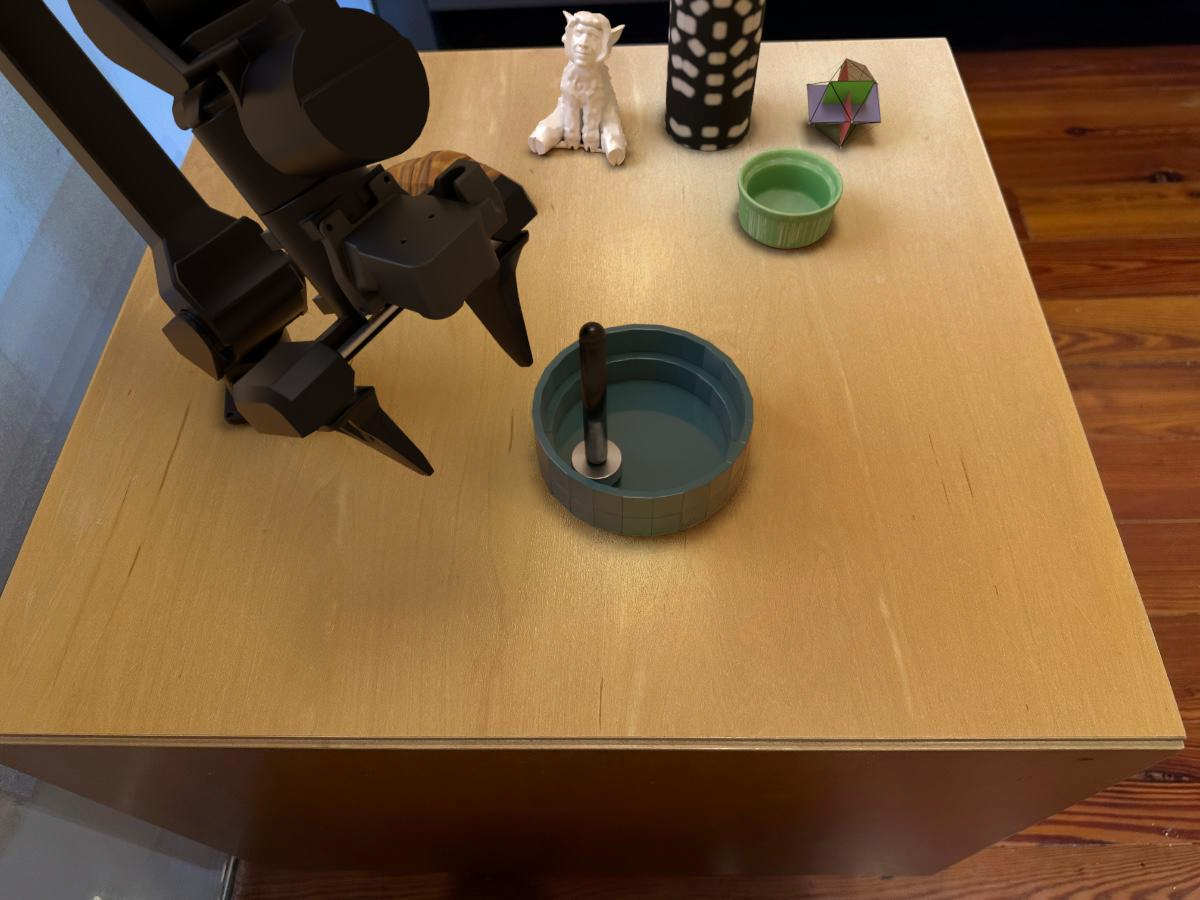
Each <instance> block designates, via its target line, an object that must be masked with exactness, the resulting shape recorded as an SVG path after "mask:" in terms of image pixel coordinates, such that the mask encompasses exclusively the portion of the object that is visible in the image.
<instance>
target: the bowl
mask: <svg viewBox="0 0 1200 900" xmlns="http://www.w3.org/2000/svg"><path fill="white" fill-rule="evenodd" d="M604 329H605V332H606V369H607V432H608V440H610V441H612V442H614V443H615V444H616V445H617V446H618V447H619V449H620V451H621V454H622V473H621V475H620V477H619V479H618V480H617V481H616V482H615V483H614V484H613V485H611V486H607V485H604V484H600V483H597V482H595V481H593V480H591V479H589V478H588V477H586V476H584V475H582V474H580V473H579V472H577V471H575V470H573V469H572V468H571V454H572V452H573V450H574V448H575V447H576V446H577V445H578V444H579V443H580V442H581V441H583V440H584V427H583V408H582V388H581V369H580V350H579V338H578V339H577V340H575V341H574V342H572V343H571V344H569V345H568V346H565V348H563V349H561V350H560V351H559V352H558V353H557V354H556V356H554V357H553V359H552V360H551V361H550V362H549V363H548V365H546V366H545V368H544V369H543V371H542V373H541V375H540V378H539V379H538V382H537V384H536V386H535V388H534V391H533V398H532V405H531V406H532V407H531V419H532V428H533V435H534V442H535V451H536V458H537V462H538V467H539V472H540V476H541V477H542V479H543V481H544V483H545V485H546V487H547V489H548V490H549V492H550V494H551V496H552V497H553V498H554V499H555V500H556V501H557V502H558V503H559V504H560V505H561V506H562V507H563V508H564V509H565V510H566V511H567V512H568V513H569V514H571V516H574V517H576V518H577V519H579V520H581V521H583V522H584V523H586V524H588V525H590V526H591V527H594V528H595V529H598V530H602V531H606V532H609V533H613V534H617V535H620V536H629V537H649V538H650V537H657V536H663V535H669V534H674V533H679V532H682V531H684V530H686V529H689V528H690V527H691V528H692V527H693V526H695V525H698V524H700V523H702V522H705V521H706V520H708V519H709V518H710V517H711V516H712V515H714V514H715V513H716V512H717V511H719V510H720V509H722V507H723V506H725V505H726V503H727V502H728V501H729V499H730V498H731V496H732V495H733V493H734V492H735V490H736V489H737V487H738V486H739V485H740V483H741V479H742V476H743V473H744V469H745V466H746V463H747V457H748V453H749V448H750V443H751V438H752V433H753V428H754V423H755V422H754V421H755V415H754V399H753V398H754V397H753V395H752V393H751V389H750V387H749V384H748V382H747V379H746V377H745V375H744V373H743V372H742V371H741V370H740V368H739V367H738V366H737V364H736V363H735V361H734V360H733V359H732V358H731V357H730V356H729V355H727V354H726V353H725V351H722V349H720V348H719V347H717V346H716V345H715V344H713V343H712V342H711V341H709V340H707V339H705V338H703V337H701V336H699V335H696V334H695V333H692V332H690V331H688V330H685V329H680V328H676V327H672V326H667V325H663V324H654V323H652V324H651V323H628V324H621V325H616V326H609V327H604Z"/></svg>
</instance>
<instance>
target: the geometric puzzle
mask: <svg viewBox="0 0 1200 900" xmlns="http://www.w3.org/2000/svg"><path fill="white" fill-rule="evenodd" d="M840 63H842V64H841V65H840V66H839V68H838V69H837V70H836V72H835V73H834V75H832V77H831V78H830V79H829V80H827V81H820V82H815V83H814V82H812V83H806V93H807V95H806V96H807V110H808V124H809V125H811V126H812V127H815V129H816V130H818V131H819V132H820V133H822V134H823V135H824V136H825V137H827V138H828V139H830V140H831V141H832V142H833V143H834V144H835V145H837V146H838V147H839V149H842V147H844V146H846V145H847V144H849V143H850V141H848V142H847V143H846V141H847V140H848V138H849V137H850V135H851V134H852V133H853V131H854V129H855V128H856V126H858V124H859V125H869V124H876V125H874V126H873V128H875V127H876V126H878V125H879V124H882V123H883V121H882V117H881V116H882V115H881V106H880V95H879V82H877V79H876V78H874V76H873V74H872V73H871V71H870V70H869V68H868V67H867V65H865V64H863V63H860V62H858V61H855V60H852V59H850V58H848V57H845V59H844V60H842V61H840V62H839V63H838V64H836V65H834V66H833V67H832V68H830V69H828V70H827V71H825V72H824V73H822V74H821V76H822V75H824V74H825V73H827V72H828V71H829V70H831V69H832V70H833V68H835V67H836V66H837V65H839V64H840ZM838 72H839V73H838ZM837 73H838V77H837V80H833V79H834V77H835V76H836V75H837ZM826 83H827V84H826ZM852 125H854V126H853V127H852V129H851V126H852ZM818 126H839V127H838V128H839V141H840V142H839V143H840V145H839V143H838V142H836V141H835V140H833V139H832V138H831V137H830V136H828V134H826V132H824V131H823V130H822V129H821V128H819V127H818ZM850 129H851V131H850ZM869 130H870V131H871V128H869V129H868V130H866V131H865V132H863V133H862V134H860V135H858V136H856V137H855V138H853V139H852V141H854V140H855V139H857V138H858V137H860V136H862V135H863V134H865V133H866V132H868V131H869ZM849 131H850V132H849ZM848 133H849V134H848ZM845 143H846V144H845Z"/></svg>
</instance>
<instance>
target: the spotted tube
mask: <svg viewBox="0 0 1200 900" xmlns="http://www.w3.org/2000/svg"><path fill="white" fill-rule="evenodd" d="M766 6H767V0H669V21H668V41H667V61H666V62H667V63H666V82H665V83H666V84H665V85H666V86H665V103H664V105H665V106H664V129H665V132H666V133H667V135H668V136H669V138H671V139H672V140H673V141H674V142H676V143H677V144H680V145H681V146H683V147H686V148H689V149H691V150H697V151H707V152H709V151H711V152H712V151H721V150H725V149H728V148H731V147H733V146H735V145H736V146H737V145H738V144H739V143H741V142H742V141H743V140H745V138H746V137H747V135H748V133H749V131H750V125H751V117H752V109H753V103H754V96H755V88H756V81H757V73H758V65H759V59H760V50H761V44H762V38H763V37H762V35H763V30H764V22H765V13H766Z"/></svg>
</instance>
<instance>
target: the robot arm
mask: <svg viewBox="0 0 1200 900" xmlns="http://www.w3.org/2000/svg"><path fill="white" fill-rule="evenodd" d="M66 1H67V4H68V6H69V8H70V11H71V13H72V14H73V17H74V18H75V20H76V22H77V23H78V25H79V26H80V28H81V29H82V32H83V33H84V34H85V35H86V36H87V38H88V39H89V40H90V42H91V43H92V44H93V45H94V47H95V48H96V49H97V50H98V51H100V53H101V54H102V55H103V56H104V57H105V58H107V59H108V60H109V61H111V62H112V63H114V64H115V65H117V66H119V67H120V68H122V69H124V70H126V71H128V72H129V73H131V74H132V75H134V76H136V77H138V78H140V79H141V80H143V81H145V82H146V83H148V84H150V85H152V86H154V87H156V88H157V89H159V90H161V91H163V92H164V93H166V94H167V95H170V96H171V97H173V100H172V105H171V113H172V116H173V120H174V123H175V125H176V126H177V127H178V128H179V130H181V131H183V132H185V131H188V130H190V132H191V133H192V134H193V136H194V137H195V138H196V139H197V141H198V142H199V143H200V145H201V146H202V148H204V149H205V151H206V152H207V153H208V155H209V156H210V157H211V158H212V160H213V161H214V162H215V164H216V165H217V166H218V167H219V169H220V170H221V171H222V173H223V174H224V175H225V176H226V177H227V179H228V180H229V181H230V183H231V184H232V185H233V187H234V188H235V189H236V190H237V191H238V193H239V194H240V195H241V197H242V198H243V199H244V200H245V202H246V203H247V204H248V205H249V207H250V208H251V210H253V212H254V213H255V214H256V215H257V217H258V219H259V220H260V221H261V222H262V223H263V225H264V226H265V228H266V229H265V230H264V229H263V227H262V226H261V224H260V223H259V222H257V221H256V220H255V219H252V218H251V217H249V216H247V215H242V216H240V217H239V218H238V217H235V216H233V215H231V214H228V213H226V212H224V211H221V210H219V209H216V208H214V207H212V206H210V205H209V203H207V201H206V200H205V199H204V198H203V196H202V195H201V194H200V193H199V192H198V190H197V189H196V187H194V186H193V184H192V183H191V182H190V181H189V179H188V178H187V177H186V176H185V174H184V173H183V172H182V171H181V170H180V168H179V167H178V166H177V165H176V163H175V162H174V160H173V159H172V158H171V157H170V156H169V154H168V153H167V152H166V151H165V149H164V148H162V146H161V145H160V143H159V142H158V141H157V140H156V138H155V137H154V136H153V135H152V133H151V132H150V131H149V130H148V129H147V127H146V126H145V125H144V124H143V122H142V121H141V120H140V118H139V117H138V116H137V114H135V112H134V111H133V110H132V109H131V107H130V106H129V105H128V104H127V103H126V101H125V100H124V99H123V97H122V96H121V95H120V94H119V93H118V91H117V90H116V89H115V88H114V87H113V85H112V84H111V83H110V82H109V80H108V79H107V78H106V77H105V75H104V74H103V73H102V71H100V69H99V68H98V67H97V66H96V64H95V63H94V62H93V60H92V59H91V58H90V57H89V55H88V54H87V53H86V52H85V51H84V49H83V48H82V47H81V46H80V45H79V43H78V42H77V41H76V40H75V38H74V37H73V36H72V34H71V33H70V32H69V31H68V30H67V28H66V27H65V26H64V25H63V23H62V22H61V21H60V20H59V19H58V17H57V16H56V15H55V14H54V13H53V11H52V10H51V9H50V7H49V6H48V5H47V3H46V2H45V1H44V0H0V73H1V74H2V76H4V78H5V79H6V80H7V81H8V83H9V84H10V85H11V86H12V87H13V88H14V90H16V92H17V93H18V95H20V96H21V98H22V99H23V100H24V102H26V103H27V105H28V106H29V107H30V109H31V110H33V112H34V113H35V114H36V115H37V116H38V118H39V119H40V120H41V121H42V122H43V124H44V125H45V126H46V127H47V128H48V129H49V131H50V132H51V133H52V134H53V135H54V137H56V138H57V140H58V141H59V143H61V144H62V145H63V146H62V147H64V148H65V149H66V150H67V152H68V153H69V154H70V155H71V157H72V158H73V159H74V160H75V161H76V162H77V163H78V165H79V166H80V167H81V168H82V170H84V171H85V173H86V174H87V175H88V176H89V177H90V178H91V180H92V181H93V182H94V183H95V184H96V186H97V187H98V188H99V189H100V190H101V192H102V193H103V194H104V195H105V196H106V197H107V199H108V200H109V201H110V202H111V203H112V205H114V207H115V208H116V209H117V210H118V211H119V212H120V213H121V215H122V216H123V217H124V218H125V219H126V221H127V222H128V223H129V224H130V225H131V226H132V228H133V229H134V230H135V231H136V233H138V235H139V236H140V237H141V238H142V240H144V242H145V243H146V244H147V246H148V247H149V248H150V250H151V255H152V259H153V266H154V272H155V278H156V283H157V287H158V289H157V290H158V295H159V296H160V299H162V301H163V303H165V305H166V306H167V307H168V308H169V309H170V310H171V312H172V313H173V315H175V316H173V317H172V318H171V319H170V320H169V321H168V322H167V324H165V325H164V326H163V327H162V328H161V331H162V333H163V334H164V336H165V337H166V338H167V340H168V341H169V343H170V344H171V345H172V346H173V348H174V349H175V351H176V352H177V353H178V354H179V355H180V356H182V357H183V358H185V359H186V360H188V361H189V362H190V363H191V364H193V365H195V366H196V367H197V368H199V369H200V370H201V371H203V372H204V373H205V374H207V375H208V376H210V378H212V379H214V380H215V381H217V382H220V381H221V380H223V382H224V384H225V388H224V389H225V391H224V411H223V412H224V413H223V417H224V420H225V421H226V422H227V423H228V424H237V423H242V422H243V423H245V422H247V423H248V424H250V426H251V427H252V428H253V429H254V430H255V431H256V432H257V434H260V435H261V434H262V435H270V436H276V437H277V436H280V437H288V438H295V439H296V438H297V439H304V438H306V437H308V436H310V435H312V434H314V433H316V432H323V433H333V432H337V433H339V434H342V435H345V436H347V437H349V438H351V439H354V440H356V441H357V442H360V443H362V444H363V445H365V446H367V447H369V448H370V449H372V450H374V451H376V452H378V453H380V454H382V455H383V456H386V457H387V458H388V459H391V460H393V461H394V462H396V463H398V464H400V465H402V466H403V467H405V468H407V469H409V470H411V471H413V472H415V473H417V474H418V475H421V476H423V477H424V476H425V477H431V476H433V475H434V473H435V468H434V467H433V466H432V464H431V462H430V461H429V460H428V458H427V457H426V455H425V454H424V452H422V450H421V449H420V448H419V447H418V446H417V445H416V444H415V443H414V441H412V439H410V437H409V436H408V435H407V434H406V433H405V432H404V431H403V430H402V428H400V427H399V426H398V424H397V423H396V422H395V421H394V420H393V418H392V417H390V415H388V414H387V412H386V411H385V410H384V409H383V408H382V406H381V404H380V401H379V398H378V395H377V391H376V388H375V386H373V385H355V381H356V380H355V377H356V370H354V368H353V366H351V364H350V362H351V361H352V360H353V359H354V358H355V357H356V356H357V355H358V354H359V353H360V352H361V351H362V350H363V349H365V347H366V346H368V345H369V343H371V341H372V340H374V339H375V338H376V337H377V336H378V335H379V334H380V333H381V332H382V331H383V330H385V328H386V327H387V326H388V325H389V324H391V322H393V321H394V319H395V318H397V317H398V316H399V315H400V314H401V313H402V312H403V311H404V310H407V311H411V312H414V313H417V314H419V315H420V316H421V317H422V318H424V319H426V320H431V321H442V320H445V319H448V318H450V317H452V316H454V315H455V314H456V313H458V312H459V311H460V310H461V309H462V308H463V306H464V305H465V304H467V306H468V307H469V309H470V310H471V311H472V313H473V314H474V315H475V316H476V318H477V319H478V320H479V321H480V322H481V324H482V325H483V326H484V328H485V329H486V330H487V332H488V333H489V334H490V335H491V337H492V338H493V339H494V341H495V342H496V343H497V345H498V346H499V347H500V348H501V349H502V350H503V352H504V353H505V354H506V355H508V357H509V358H510V359H511V360H512V361H513V362H514V363H515V364H516V365H517V366H518V367H520V368H530V367H532V365H533V364H534V357H533V352H532V349H531V348H532V347H531V343H530V340H529V335H528V332H527V331H528V330H527V326H526V322H525V318H524V314H523V309H522V306H521V300H520V295H519V289H518V282H517V281H518V280H517V267H518V263H519V261H520V257H521V254H522V250H523V248H524V247H525V245H527V243H528V242H529V240H530V231H529V230H528V229H525V227H527V226H528V225H529V224H530V222H532V221H533V220H534V219H535V218H536V217H537V216H538V208H537V207H536V205H535V204H534V203H533V200H532V198H531V197H530V195H529V194H528V192H527V190H526V188H525V187H524V186H523V185H522V184H521V183H519V182H518V181H517V180H515V179H513V178H511V177H509V176H508V175H506V174H505V175H506V176H505V175H503V174H504V173H503V174H500V175H496V176H492V177H488V176H487V174H486V173H485V172H484V170H483V169H482V167H481V166H480V165H479V163H478V162H479V161H477V162H475V161H476V160H475V161H470V160H465V159H457V160H456V161H454V162H453V163H452V164H451V165H450V166H449V167H448V168H446V169H445V170H444V171H443V172H442V173H441V174H440V175H438V176H437V177H436V178H435V180H434V186H428V187H427V188H426V189H425V190H424V191H423V192H422V193H420V194H419V195H418V196H411V195H410V194H409V193H408V192H406V191H405V190H404V189H403V188H402V187H400V186H399V184H398V183H397V181H396V180H395V178H394V177H393V176H392V174H391V173H390V172H388V171H385V170H386V169H385V168H384V166H383V165H382V163H380V162H383V161H386V160H389V159H392V158H395V157H397V156H400V155H402V154H404V153H406V152H407V151H408V150H410V149H411V148H412V147H413V145H414V144H415V143H416V142H417V140H418V139H419V138H420V137H421V135H422V133H423V131H424V128H425V126H426V124H427V122H428V117H429V111H430V105H431V99H430V97H431V96H430V84H429V81H428V76H427V71H426V68H425V66H424V64H423V61H422V59H421V56H420V54H419V52H418V51H417V48H416V47H415V46H414V44H413V43H412V41H411V40H410V39H409V38H408V37H405V36H404V35H403V34H401V33H400V31H398V29H396V27H394V25H392V23H390V22H389V21H387V20H385V19H384V18H382V17H381V16H379V15H378V14H375V13H373V12H371V11H367V10H365V9H362V8H357V7H349V6H348V7H347V6H340V4H339V3H338V0H66ZM370 165H371V166H370ZM367 166H369V167H367ZM306 279H307V280H306ZM307 281H308V282H309V284H311V286H312V287H313V288H314V290H315V291H316V292H317V294H316V296H314V297H313V298H312V299H311V301H312V302H313V303H314V304H315V306H316V307H317V308H318V310H319V311H320V312H321V314H323V316H325V315H335V316H336V317H337V319H336V320H335V321H334V322H333V323H332V324H331V325H330V326H329V327H327V328H326V329H325V330H324V331H323V332H322V333H321V334H320V335H318V336H317V337H316V338H315V339H314V340H299V341H292V338H291V336H290V333H289V331H288V329H287V327H288V326H289V325H290V324H292V323H293V322H294V321H295V320H297V319H298V318H300V317H303V316H305V315H306V314H308V312H309V307H308V286H307ZM368 316H369V318H367V317H368Z"/></svg>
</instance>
